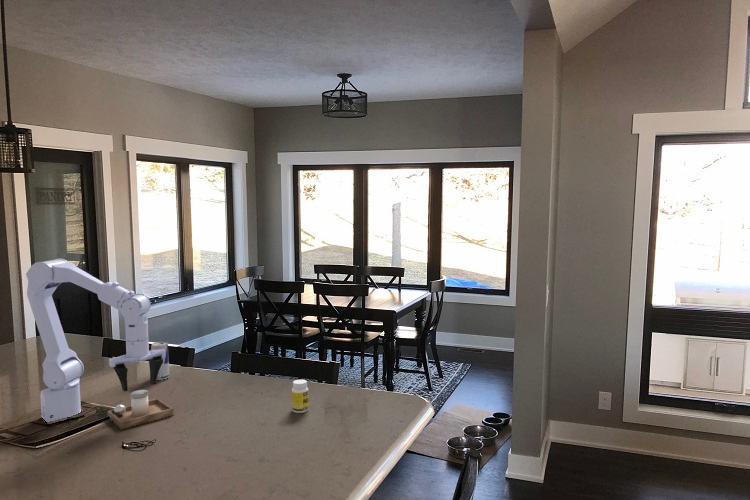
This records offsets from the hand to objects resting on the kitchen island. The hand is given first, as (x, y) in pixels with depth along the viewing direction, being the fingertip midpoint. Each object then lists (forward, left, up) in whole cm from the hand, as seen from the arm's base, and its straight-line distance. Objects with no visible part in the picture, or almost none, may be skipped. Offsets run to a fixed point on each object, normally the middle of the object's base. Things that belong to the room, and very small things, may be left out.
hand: (139, 386), depth 150 cm
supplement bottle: (+35, -27, -9) cm, 45 cm away
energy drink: (+17, +29, -9) cm, 35 cm away
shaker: (0, 0, -8) cm, 8 cm away
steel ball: (-4, +3, -6) cm, 8 cm away
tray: (0, 0, -9) cm, 9 cm away
